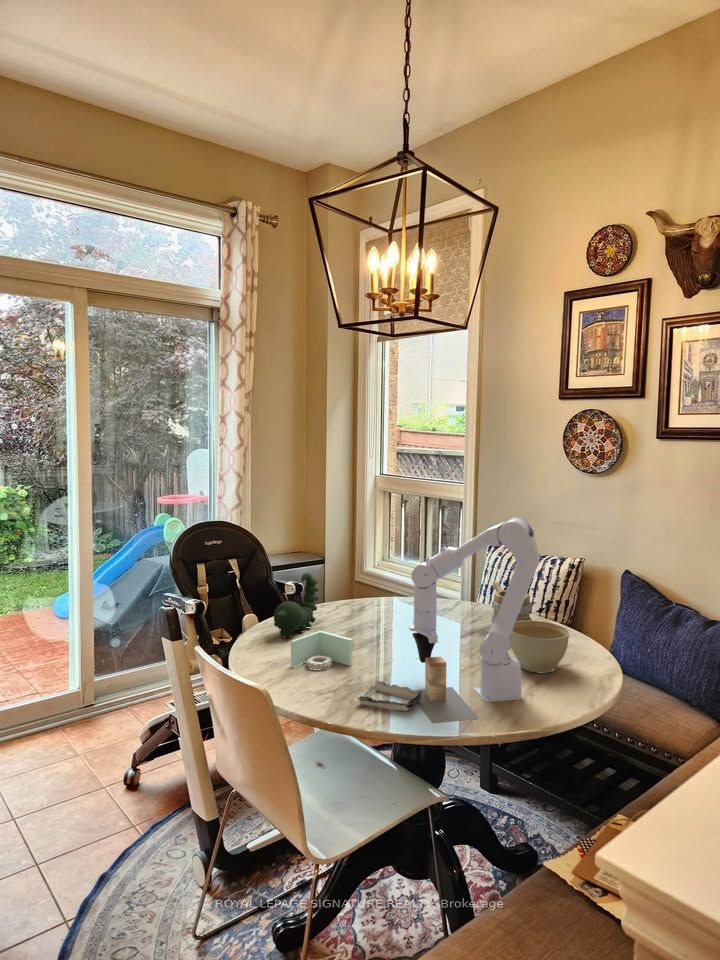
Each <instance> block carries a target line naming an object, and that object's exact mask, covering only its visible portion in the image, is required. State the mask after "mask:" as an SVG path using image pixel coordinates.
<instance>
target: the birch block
mask: <svg viewBox="0 0 720 960" xmlns="http://www.w3.org/2000/svg"><path fill="white" fill-rule="evenodd" d="M424 666H425V667H424V668H425V672H424V674H425V675H424V677H425V678H424V680H425V681H424V687H425V688H424V689H425V695H426V696H427V698H428V699H429V700H430V701H437V700H446V687H447V661H446V660H445V659H444V658H443V657H442V656H431V657H428V658H425V665H424Z"/></svg>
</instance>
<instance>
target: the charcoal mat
mask: <svg viewBox="0 0 720 960" xmlns="http://www.w3.org/2000/svg"><path fill="white" fill-rule="evenodd" d="M411 691H412V692H413V693H417V691H419V692H421V691H422V693H421V696H422V697H421V701H420V702H418V703H417V704H418V705H419V706H420V707H421V709H422V710H423V712H424V713H425V714H426V716H427V717H428V720H429V721H430V722H431V724H437V723H438V724H439V723H447V722H448V723H449V722H459V721H469V720H472V721H473V720H479V719H480V718H479V716H477V714H476V713H475V712H474V711H473V710H472V709H471V707H470V706H469V705H468V704H467V703H466V702H465V700H464V699H463V698H462V697H461V696H460V695H459V693H458V692H457V691H456V690H455V689H454V687H452V686H446V700H437V701H430V700H429V699H428V698H427V696H426V695H425V688H423V689H411Z"/></svg>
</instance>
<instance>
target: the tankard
mask: <svg viewBox="0 0 720 960" xmlns="http://www.w3.org/2000/svg"><path fill="white" fill-rule="evenodd" d="M492 589H493V590H495V591H496V592H495V593H494V595H493V597H494V598H493V599H492V601H491V608H492V609H493V614H492V616H491V623H492V624H494V622H495V619H496V617H497V614H498V612H499V609H500V606H501V604H502V601H503V599H504V596H505V594H506V591H507V589H504V590H503V588H502V587H501V586H500V583H499V582H497V581H495V582H494V583H493V584H492ZM530 600H531V595H530V594H528V593H527V594H526V596H525V599H524V601H523V604H522V607H521V609H520V612H519V614H518V617H517V619H516V622H518V621H533V620H532V619H533V618H531V617H530V614H531V613H530V612H531V611H533V603H532V602H531V601H530Z"/></svg>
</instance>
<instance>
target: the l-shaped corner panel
mask: <svg viewBox="0 0 720 960" xmlns="http://www.w3.org/2000/svg"><path fill="white" fill-rule="evenodd" d="M332 660H333V661H332ZM306 661H308V662H307V663H306V667H308V666H309V667H308V669H309V668H312V669H327V668H328V667H330V666H332V665H333V664H332V663H333V662H334V661H337V662H336V663H338V662H340V663H339V664H341V663H343V664H342V665H344V664H346V665H345V666H347V665H349V666H348V667H351V665H352V666H353V638H349V637H345V636H342V635H338V634H334V633H331V632H327V631H324V630H323V631H322V630H319V631H316V632H312V633H310V634H307V635H304V636H302V637H299V638H296V639H294V640H291V641H290V667H291V666H292V667H294V666H297V665H299V664H301V663H304V662H306ZM320 662H322V663H320ZM307 664H308V665H307ZM297 667H298V666H297ZM330 668H331V667H330ZM312 669H311V670H312ZM327 670H328V669H327Z"/></svg>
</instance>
